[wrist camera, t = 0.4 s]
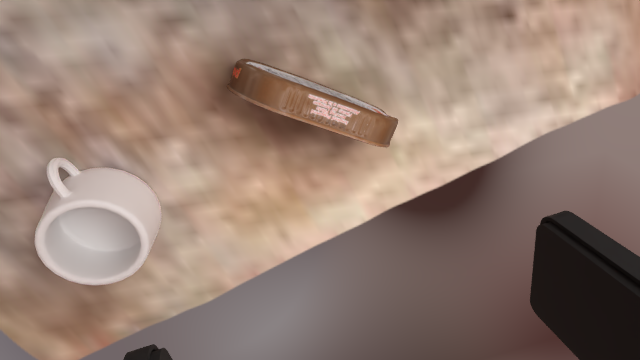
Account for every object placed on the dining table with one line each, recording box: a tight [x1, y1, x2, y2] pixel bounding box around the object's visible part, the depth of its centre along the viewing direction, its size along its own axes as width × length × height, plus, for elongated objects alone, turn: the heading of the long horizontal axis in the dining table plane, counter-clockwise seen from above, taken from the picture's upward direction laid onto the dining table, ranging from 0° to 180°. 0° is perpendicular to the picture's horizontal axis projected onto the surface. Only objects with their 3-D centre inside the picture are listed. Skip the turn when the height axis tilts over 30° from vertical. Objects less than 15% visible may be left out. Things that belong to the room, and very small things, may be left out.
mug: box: [34, 158, 162, 285], centre depth 36 cm, size 12×10×6 cm
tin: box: [227, 59, 398, 147], centre depth 34 cm, size 15×3×8 cm, turn 67°
